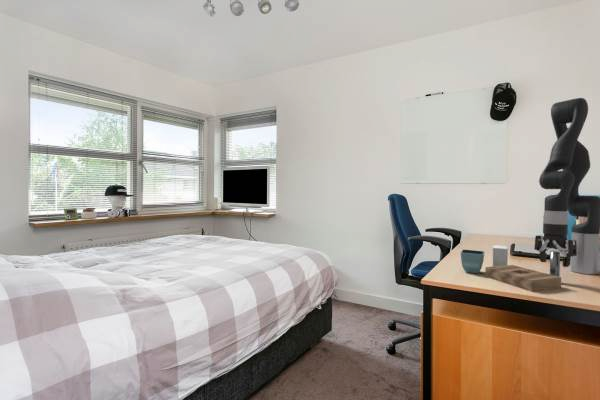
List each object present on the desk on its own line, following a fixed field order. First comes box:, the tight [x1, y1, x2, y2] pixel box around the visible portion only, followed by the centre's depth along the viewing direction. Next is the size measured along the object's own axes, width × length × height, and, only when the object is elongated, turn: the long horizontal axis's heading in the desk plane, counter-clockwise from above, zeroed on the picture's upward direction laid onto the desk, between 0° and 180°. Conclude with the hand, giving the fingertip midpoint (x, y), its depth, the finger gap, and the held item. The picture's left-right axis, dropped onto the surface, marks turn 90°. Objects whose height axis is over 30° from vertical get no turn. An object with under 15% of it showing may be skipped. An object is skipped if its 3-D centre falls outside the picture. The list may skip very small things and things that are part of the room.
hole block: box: [484, 264, 562, 292], centre depth 125 cm, size 20×14×4 cm
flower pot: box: [460, 248, 485, 274], centre depth 141 cm, size 9×9×9 cm
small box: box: [492, 245, 509, 267], centre depth 144 cm, size 8×6×10 cm
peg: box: [549, 250, 561, 277], centre depth 125 cm, size 3×3×12 cm
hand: (554, 264), depth 124 cm, fingers open, 8 cm apart
